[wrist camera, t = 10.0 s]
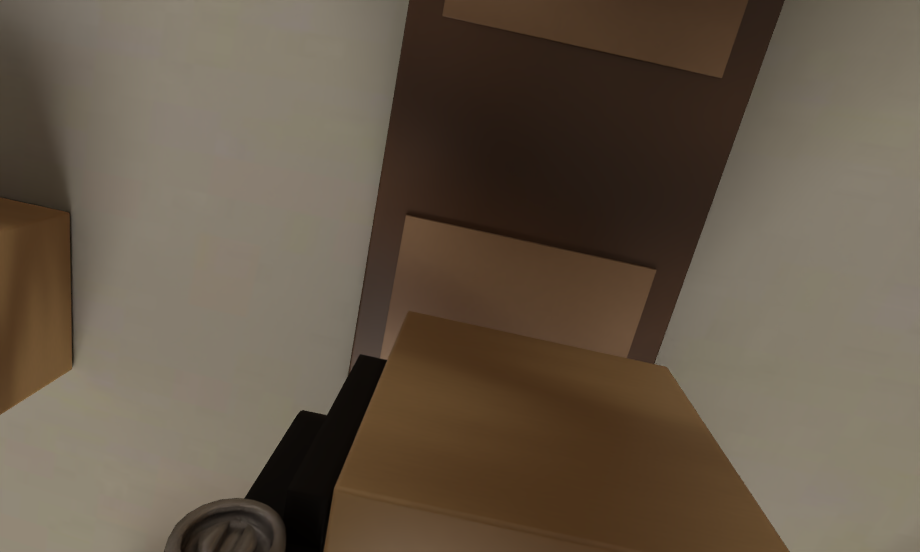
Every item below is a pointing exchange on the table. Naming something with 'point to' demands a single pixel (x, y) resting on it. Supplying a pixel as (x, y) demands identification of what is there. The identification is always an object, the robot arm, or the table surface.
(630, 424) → the letter I
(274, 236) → the table surface
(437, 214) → the dark brown wooden board
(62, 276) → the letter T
